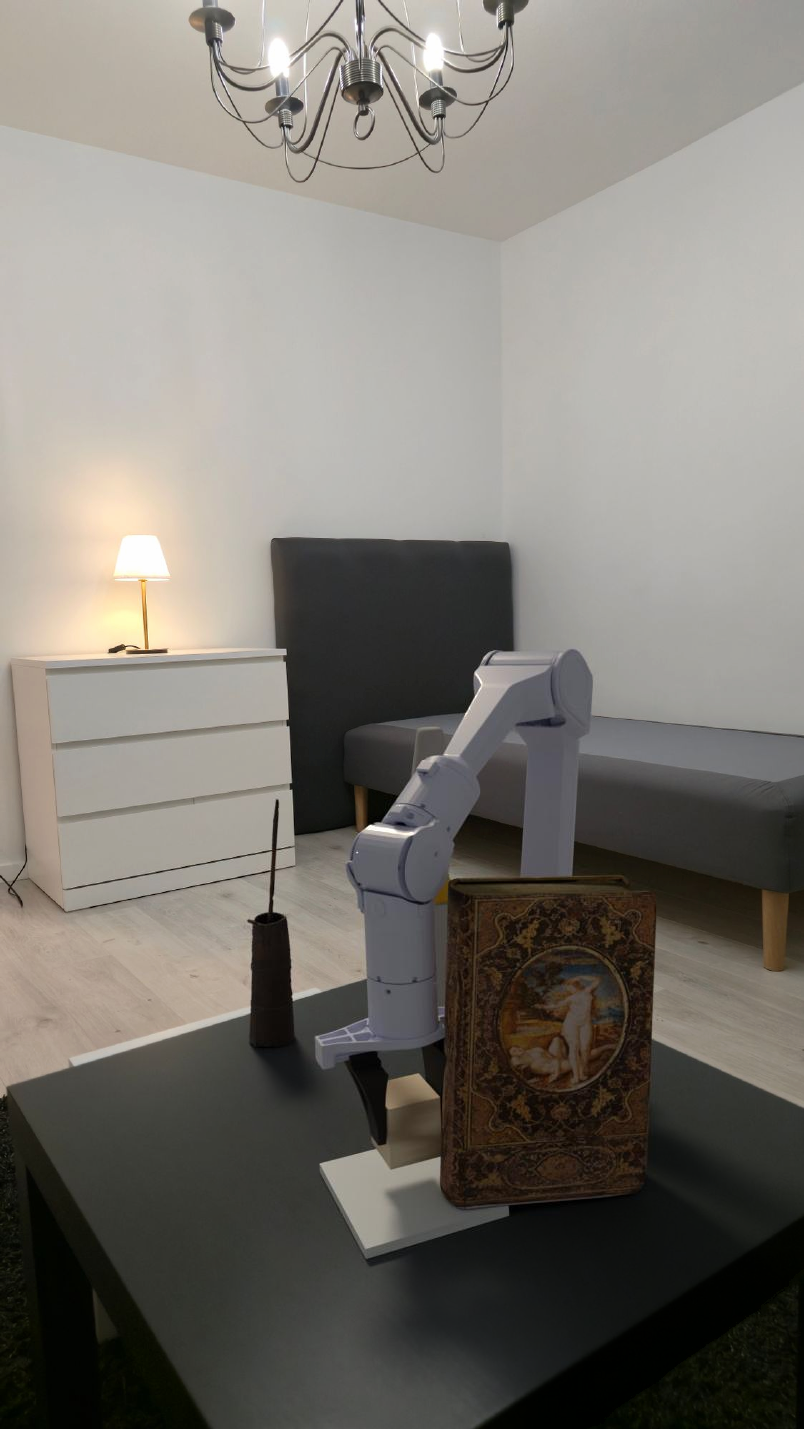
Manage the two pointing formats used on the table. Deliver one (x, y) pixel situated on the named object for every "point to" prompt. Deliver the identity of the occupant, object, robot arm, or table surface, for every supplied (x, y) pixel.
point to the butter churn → (271, 971)
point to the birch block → (411, 1122)
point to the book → (546, 1039)
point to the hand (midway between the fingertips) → (407, 1131)
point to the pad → (396, 1202)
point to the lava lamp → (426, 746)
